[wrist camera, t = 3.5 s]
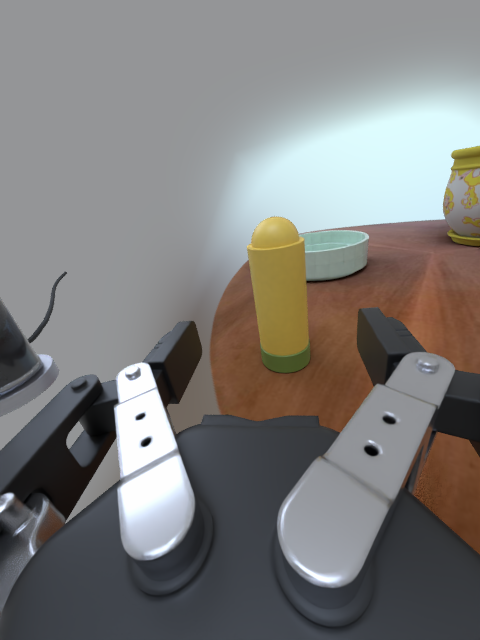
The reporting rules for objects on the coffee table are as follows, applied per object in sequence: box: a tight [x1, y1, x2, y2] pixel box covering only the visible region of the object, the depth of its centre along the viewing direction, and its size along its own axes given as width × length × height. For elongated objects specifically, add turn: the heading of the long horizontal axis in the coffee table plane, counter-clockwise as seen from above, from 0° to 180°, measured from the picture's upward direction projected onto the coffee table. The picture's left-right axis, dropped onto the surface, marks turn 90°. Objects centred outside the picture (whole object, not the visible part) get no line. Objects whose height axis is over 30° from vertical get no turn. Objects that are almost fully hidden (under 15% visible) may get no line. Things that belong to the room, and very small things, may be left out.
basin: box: [299, 230, 369, 281], centre depth 50 cm, size 17×17×6 cm
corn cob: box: [247, 217, 310, 373], centre depth 23 cm, size 5×5×14 cm
